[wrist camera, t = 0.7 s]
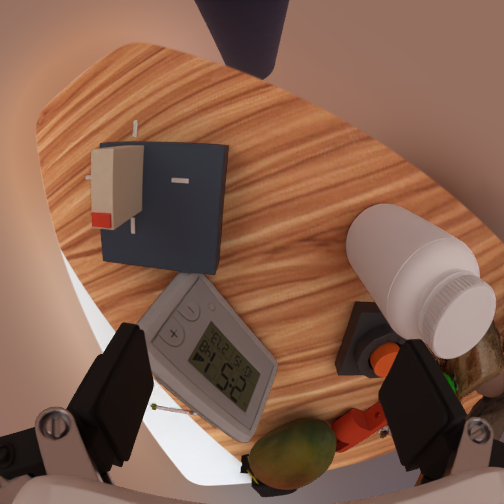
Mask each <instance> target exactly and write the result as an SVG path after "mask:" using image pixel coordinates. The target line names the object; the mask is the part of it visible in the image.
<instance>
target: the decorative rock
mask: <svg viewBox="0 0 504 504" xmlns="http://www.w3.org/2000/svg"><path fill="white" fill-rule="evenodd" d="M445 367H446V370H447V371H448V373H449V374H450V377H451V380H452V381H453V382H454V386H455V389H456V394H457V396H458V397H462V396H464V395H466V394H468V393H470V392H471V391H474V390H476V389H477V388H479V387H480V386H481V385H482V384H483V383H485V382H488V381H490V380H491V379H493V378H495V377H497V376H499V374H500V373H501V372H502V371H503V369H504V356H503V353H502V352H501V345H500V334H499V332H498V330H497V328H496V326H495V324H494V321H493V320H492V323H491V325H490V327H489V328H488V330H487V332H486V333H485V335H484V336H483V337H482V339H481V340H480V341H479V342H478V343H477V344H476V345H475V346H474V347H473V348H472V349H470V350H469V351H468V352H466V353H464V354H463V355H461V356H458V357H456V358H452V359H448V360H447V362H446V365H445Z"/></svg>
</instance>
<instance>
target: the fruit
mask: <svg viewBox="0 0 504 504" xmlns="http://www.w3.org/2000/svg"><path fill="white" fill-rule="evenodd" d="M335 451H336V436H335V433H334V431H333V430H332V429H331V427H329V426H328V425H327V424H326V423H324V422H322V421H320V420H317V419H301V420H297V421H294V422H291V423H288V424H286V425H283V426H281V427H279V428H276V429H274V430H272V431H271V432H269V433H268V434H266V435H265V436H263V437H262V438H261V439H259V440H258V441H257V442H256V443H255V445H254V446H253V448H252V449H251V451H250V455H249V465H250V468H251V470H252V472H253V474H254V475H255V476H256V478H257V479H258V480H260V481H261V482H263V483H264V484H266V485H268V486H270V487H273V488H276V489H283V490H292V489H298V488H300V487H303V486H305V485H308V484H309V483H311V482H313V481H314V480H316V479H317V478H318V477H320V476H321V475H322V474H323V473H324V472H325V471H326V470H327V469H328V467H329V466H330V464H331V463H332V460H333V458H334V455H335Z"/></svg>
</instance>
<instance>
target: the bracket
mask: <svg viewBox="0 0 504 504" xmlns="http://www.w3.org/2000/svg"><path fill="white" fill-rule="evenodd" d="M386 424H387V420H386V417H385V415H384V412H383V409H382V406H381V403H377V404H375V405H373V406H372V407H371V408H369V409H368V410H367V411H365V412H362V411H360V410H358V409H355V408H354V409H352V410H350V411H349V412H348V413H346V414H345V415H343V416H342V417H340V418H339V419H338V420H336V421H335V422H333V423H332V430H333V431H334V433H335V436H336V452H340V453H341V452H344V451H346V450H348V449H350V448H351V447H353V446H355V445H356V444H358V443H359V442H361V441H363V440H364V439H366V438H367V437H369V436H370V435H372V434H373V433H375V432H376V431H378V430H379V429H381V428H382V427H384V426H385V425H386Z"/></svg>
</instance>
